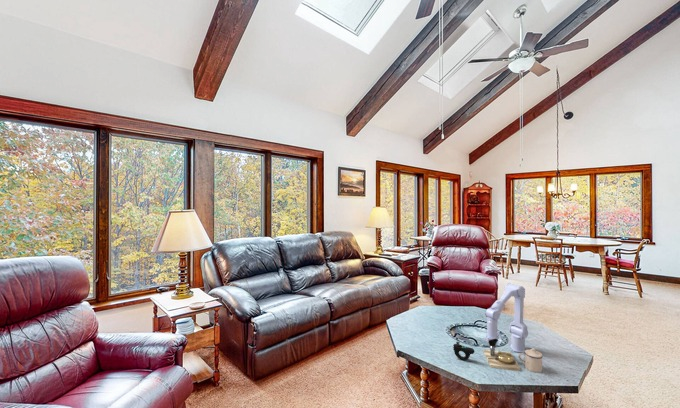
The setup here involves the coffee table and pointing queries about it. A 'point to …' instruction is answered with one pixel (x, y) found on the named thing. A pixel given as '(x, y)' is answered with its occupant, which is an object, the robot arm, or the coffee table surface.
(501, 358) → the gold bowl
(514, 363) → the slatted wooden board
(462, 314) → the coffee table surface
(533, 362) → the teacup with lid
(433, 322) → the coffee table surface
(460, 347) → the controller
